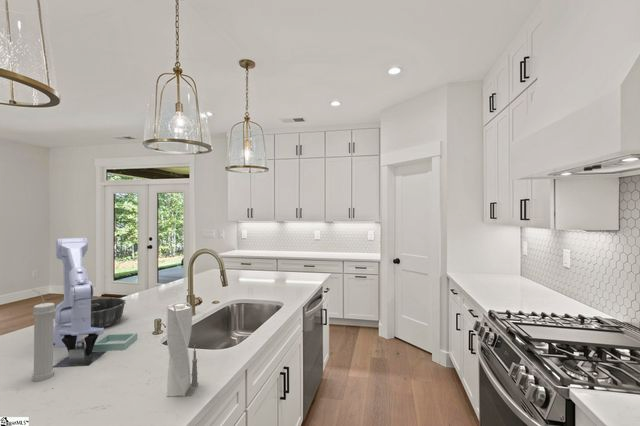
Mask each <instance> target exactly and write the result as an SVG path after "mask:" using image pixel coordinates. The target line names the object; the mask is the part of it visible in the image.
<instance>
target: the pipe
mask: <svg viewBox="0 0 640 426" xmlns="http://www.w3.org/2000/svg"><path fill="white" fill-rule="evenodd" d="M31 290H32V291H34V292H36V293H38V294H39V295H40V297H41V298H42V301H43V303H39V304H36V305H34V306H33V308H32V310H33V311H32V315H33V316H34V317H33V319H34V323H33V324H34V328H33V329H34V330H33V331H34V332H33V333H34V334H33V342H34V343H33V373H32V374H31V378H32V381H33V382H43V381H47V380H49V379H51V378H53V377H54V376H55V369H56V368H53V366H54V347H53V327H54V322H55V308H56V305H55V302H45V299H44V297H43V296H42V294H41V293H40V292H39V291H38V290H36V289H34V288H33V289H31Z"/></svg>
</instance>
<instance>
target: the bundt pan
mask: <svg viewBox="0 0 640 426" xmlns="http://www.w3.org/2000/svg"><path fill="white" fill-rule="evenodd" d="M90 299H91V298H90ZM125 304H126V299H123V298H121V297H117V298H116V297H115V298H114V297H99V298H92V299H91V327H95V328H106V327H108V326H110V325H111V326H112V325H114V324H116V323H117V322H119V320H121V318H122V316H123V313H124V308H125ZM65 308H71V307H65ZM65 308H62V309H65Z"/></svg>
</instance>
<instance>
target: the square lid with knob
mask: <svg viewBox="0 0 640 426" xmlns="http://www.w3.org/2000/svg"><path fill="white" fill-rule="evenodd" d="M107 352H108V351H92V356H91V357H90V358H88V359H87V360H86V361H84V362H69V355H67V356H66V357H65V358H63V359H61V360H60V361H59V362H57V363H56V364H53V369H56V368H71V367H72V368H73V367H75V368H76V367H87V366H88V367H89V366H91V365H92V364H93V363H94V362H95V361H97V360H98V359H99V358H101V357H103V356H104V355H105V354H106V353H107Z"/></svg>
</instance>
